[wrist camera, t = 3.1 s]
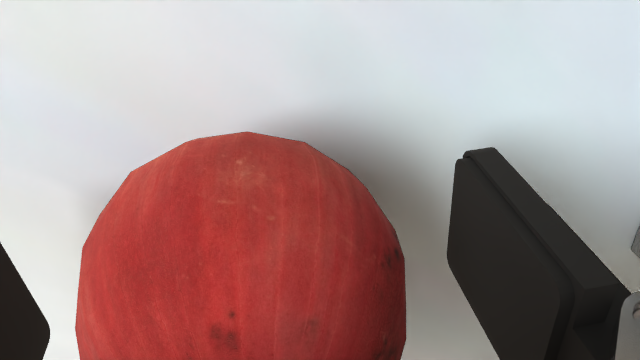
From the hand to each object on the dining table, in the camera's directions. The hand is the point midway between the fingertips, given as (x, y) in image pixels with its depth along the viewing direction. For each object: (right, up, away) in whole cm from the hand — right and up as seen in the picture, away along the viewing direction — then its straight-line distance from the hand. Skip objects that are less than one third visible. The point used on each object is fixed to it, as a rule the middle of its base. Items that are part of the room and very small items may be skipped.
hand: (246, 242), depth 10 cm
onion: (0, +1, +2) cm, 2 cm away
